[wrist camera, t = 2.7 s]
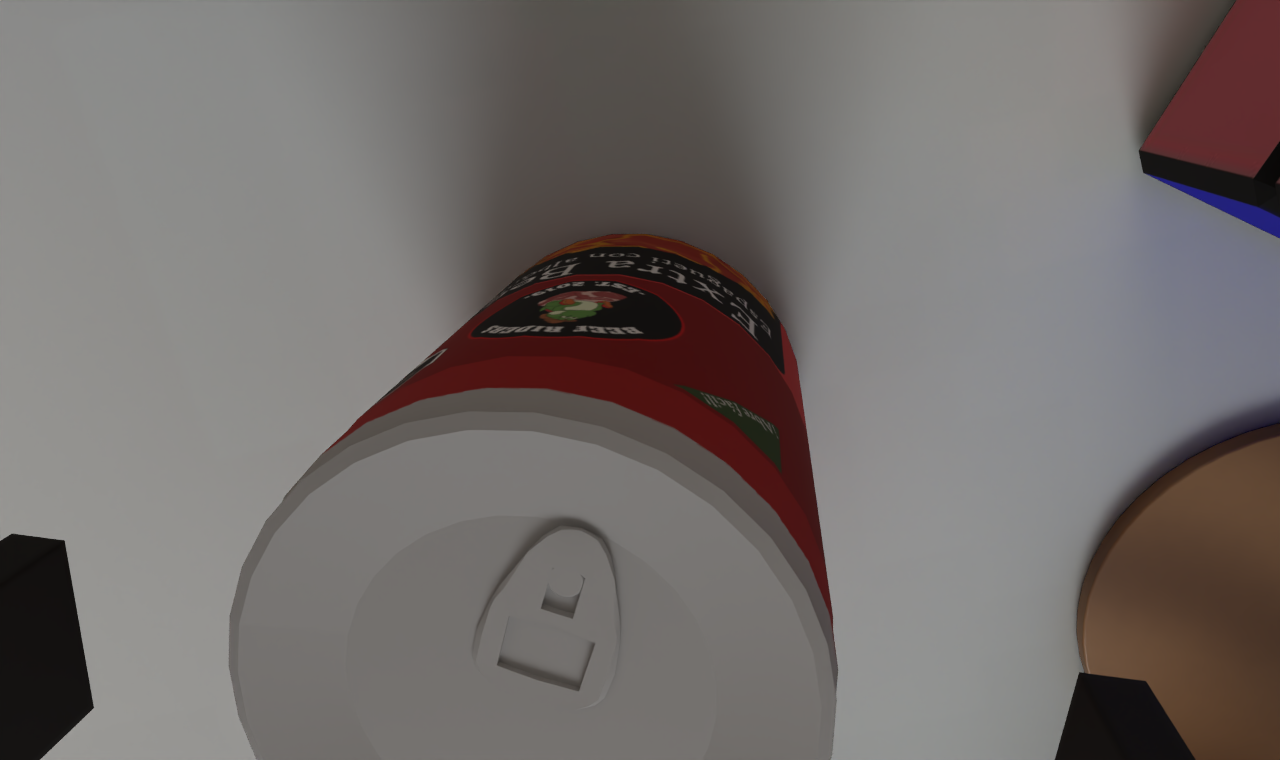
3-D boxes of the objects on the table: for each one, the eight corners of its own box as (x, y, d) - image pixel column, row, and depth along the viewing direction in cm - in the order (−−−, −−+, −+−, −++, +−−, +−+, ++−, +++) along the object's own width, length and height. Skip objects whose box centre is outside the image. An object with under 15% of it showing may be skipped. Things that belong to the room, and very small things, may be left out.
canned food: (812, 228, 19) (873, 425, 9) (789, 552, 22) (817, 987, 12) (467, 220, 20) (164, 389, 10) (487, 532, 23) (266, 919, 13)
